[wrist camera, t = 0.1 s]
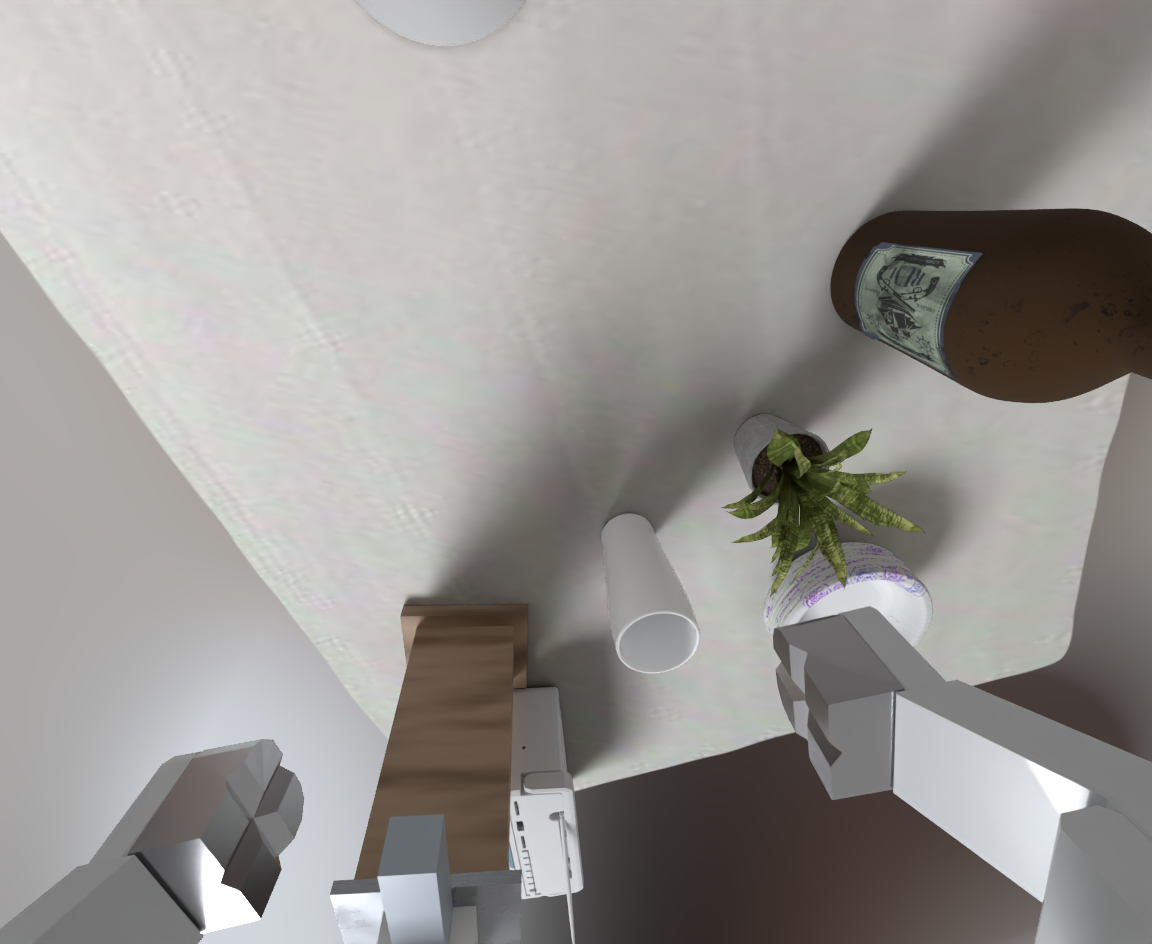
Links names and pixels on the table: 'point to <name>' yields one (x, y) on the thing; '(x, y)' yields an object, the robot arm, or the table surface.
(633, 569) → the drinking glass
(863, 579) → the paper bowls
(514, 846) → the stereo radio cassette player
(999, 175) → the table surface
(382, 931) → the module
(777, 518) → the house plant
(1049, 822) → the robot arm
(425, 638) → the stand
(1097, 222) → the olive oil
